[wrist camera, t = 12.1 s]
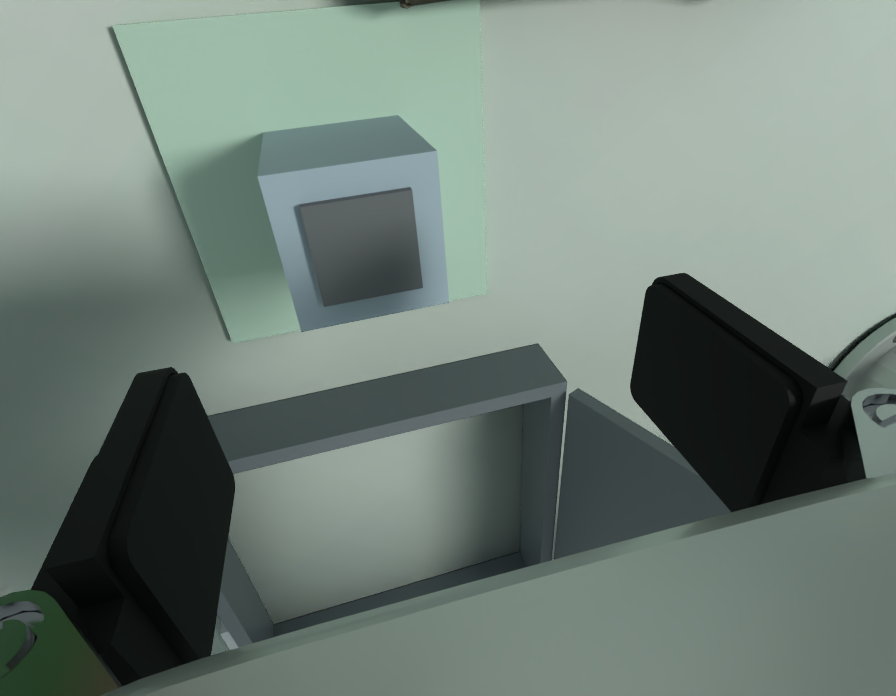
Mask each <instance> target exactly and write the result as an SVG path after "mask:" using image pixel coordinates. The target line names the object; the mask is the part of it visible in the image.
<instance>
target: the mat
mask: <svg viewBox="0 0 896 696" xmlns="http://www.w3.org/2000/svg"><path fill="white" fill-rule="evenodd" d="M113 29H114V32H115V34H116V37H117V40H118V42H119V45H120V48H121V50H122V53H123V56H124V58H125V61H126V63H127V66H128V69H129V71H130V74H131V77H132V79H133V82H134V85H135V87H136V90H137V92H138V95H139V98H140V100H141V103H142V106H143V108H144V111H145V114H146V116H147V119H148V122H149V124H150V127H151V129H152V132H153V135H154V137H155V140H156V143H157V145H158V148H159V151H160V153H161V156H162V158H163V161H164V164H165V166H166V169H167V172H168V174H169V177H170V180H171V182H172V185H173V187H174V190H175V193H176V195H177V198H178V201H179V203H180V206H181V209H182V211H183V214H184V217H185V219H186V222H187V224H188V227H189V230H190V232H191V235H192V238H193V240H194V243H195V246H196V248H197V251H198V253H199V256H200V259H201V261H202V264H203V267H204V269H205V272H206V275H207V277H208V280H209V283H210V285H211V288H212V290H213V293H214V296H215V298H216V301H217V304H218V306H219V309H220V312H221V314H222V317H223V319H224V322H225V325H226V327H227V330H228V333H229V335H230V338H231V341H232V343H238V342H243V341H248V340H253V339H258V338H263V337H269V336H274V335H279V334H284V333H289V332H294V331H299V330H301V329H300V325H299V322H298V318H297V315H296V311H295V308H294V304H293V301H292V297H291V294H290V290H289V286H288V283H287V279H286V276H285V272H284V269H283V265H282V262H281V258H280V255H279V251H278V248H277V244H276V241H275V237H274V234H273V230H272V226H271V223H270V219H269V216H268V212H267V209H266V205H265V202H264V198H263V195H262V191H261V188H260V184H259V181H258V177H257V175H258V168H259V161H260V153H261V146H262V139H263V132H270V131H277V130H285V129H293V128H301V127H309V126H316V125H324V124H332V123H340V122H348V121H355V120H363V119H371V118H379V117H387V116H394V115H399V116H400V117H401V118H402V119H403V120H404V121H405V122H406V123H407V124H408V125H410V126H411V127H412V128H413V129H414V130H415V131H416V132H417V133H418V134H419V135H420V136H422V137H423V138H424V139H425V140H426V141H427V142H428V143H429V144H430V145H431V146H433V147H434V148H435V149H436V150H437V155H438V167H439V180H440V193H441V205H442V218H443V231H444V243H445V256H446V269H447V281H448V294H449V301H452V300H457V299H462V298H467V297H472V296H477V295H482V294H487V254H486V215H485V176H484V136H483V97H482V58H481V19H480V0H450V1H443V2H435V3H429V4H423V5H416V6H412V7H410V8H408V9H405V8H402V7H400V2H387V3H375V4H363V5H351V6H339V7H327V8H315V9H303V10H291V11H279V12H268V13H256V14H244V15H232V16H220V17H208V18H196V19H184V20H172V21H160V22H148V23H136V24H124V25H113Z"/></svg>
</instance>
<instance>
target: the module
mask: <svg viewBox="0 0 896 696" xmlns="http://www.w3.org/2000/svg"><path fill="white" fill-rule="evenodd" d="M257 177H258V181H259V184H260V188H261V191H262V195H263V198H264V202H265V205H266V209H267V212H268V216H269V219H270V223H271V226H272V230H273V234H274V237H275V241H276V244H277V248H278V251H279V255H280V258H281V262H282V265H283V269H284V272H285V276H286V279H287V283H288V286H289V290H290V294H291V297H292V301H293V304H294V308H295V311H296V315H297V318H298V322H299V325H300V329H301V332H304V331H309V330H314V329H319V328H324V327H329V326H334V325H339V324H344V323H349V322H354V321H359V320H364V319H369V318H374V317H379V316H384V315H389V314H394V313H399V312H404V311H409V310H414V309H419V308H424V307H429V306H434V305H439V304H444V303H449V294H448V281H447V269H446V256H445V243H444V231H443V218H442V205H441V193H440V180H439V167H438V155H437V150H436V149H435V148H434V147H433V146H431V145H430V144H429V143H428V142H427V141H426V140H425V139H424V138H423V137H422V136H420V135H419V134H418V133H417V132H416V131H415V130H414V129H413V128H412V127H411V126H410V125H408V124H407V123H406V122H405V121H404V120H403V119H402V118H401V117H400V116H399V115H394V116H387V117H379V118H371V119H363V120H355V121H348V122H340V123H332V124H324V125H316V126H309V127H301V128H293V129H285V130H277V131H270V132H263V139H262V146H261V153H260V161H259V168H258V175H257Z"/></svg>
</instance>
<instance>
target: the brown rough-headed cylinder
mask: <svg viewBox="0 0 896 696" xmlns="http://www.w3.org/2000/svg"><path fill="white" fill-rule="evenodd" d="M443 1H450V0H399V2H400V7H402V8H405V9H408V8H410V7H412V6H416V5H423V4H429V3H435V2H443Z"/></svg>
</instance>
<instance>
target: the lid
mask: <svg viewBox="0 0 896 696" xmlns="http://www.w3.org/2000/svg"><path fill="white" fill-rule="evenodd" d="M727 513H731V511H730V510H729V509H728V508H727V507H726V505H725V504H724V503H723V502H722V501H721V500H720V499H719V497H718V496H717V495H716V494H715V493H714V492H713V490H712V489H711V488H710V487H709V486H708V485H707V484H706V482H705V481H704V480H703V479H702V478H701V477H700V475H699V474H698V473H697V472H696V471H695V470H694V469H693V467H692V466H691V465H690V464H689V463H688V462H687V460H686V459H685V458H684V457H683V456H682V455H681V454H680V452H679V451H678V450H677V449H676V448H675V447H674V446H672V445H671V444H669V443H667V442H666V441H664V440H662V439H661V438H659V437H657V436H656V435H654V434H653V433H651V432H649V431H648V430H646V429H644V428H643V427H641V426H639V425H638V424H636V423H635V422H633V421H631V420H630V419H628V418H626V417H625V416H623V415H621V414H620V413H618V412H617V411H615V410H613V409H612V408H610V407H608V406H607V405H605V404H603V403H602V402H600V401H598V400H597V399H595V398H594V397H592V396H590V395H589V394H587V393H585V392H584V391H582V390H580V389H579V388H578V389H577V390H575V391H573V392H572V393H570V394H569V400H568V411H567V422H566V433H565V443H564V454H563V465H562V476H561V487H560V498H559V509H558V520H557V531H556V542H555V553H554V560H555V559H559V558H562V557H566V556H570V555H573V554H577V553H581V552H584V551H588V550H592V549H596V548H599V547H603V546H607V545H611V544H614V543H618V542H622V541H625V540H629V539H633V538H637V537H640V536H644V535H648V534H651V533H655V532H659V531H663V530H667V529H670V528H674V527H678V526H682V525H685V524H689V523H693V522H697V521H701V520H704V519H708V518H712V517H716V516H720V515H723V514H727Z"/></svg>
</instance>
